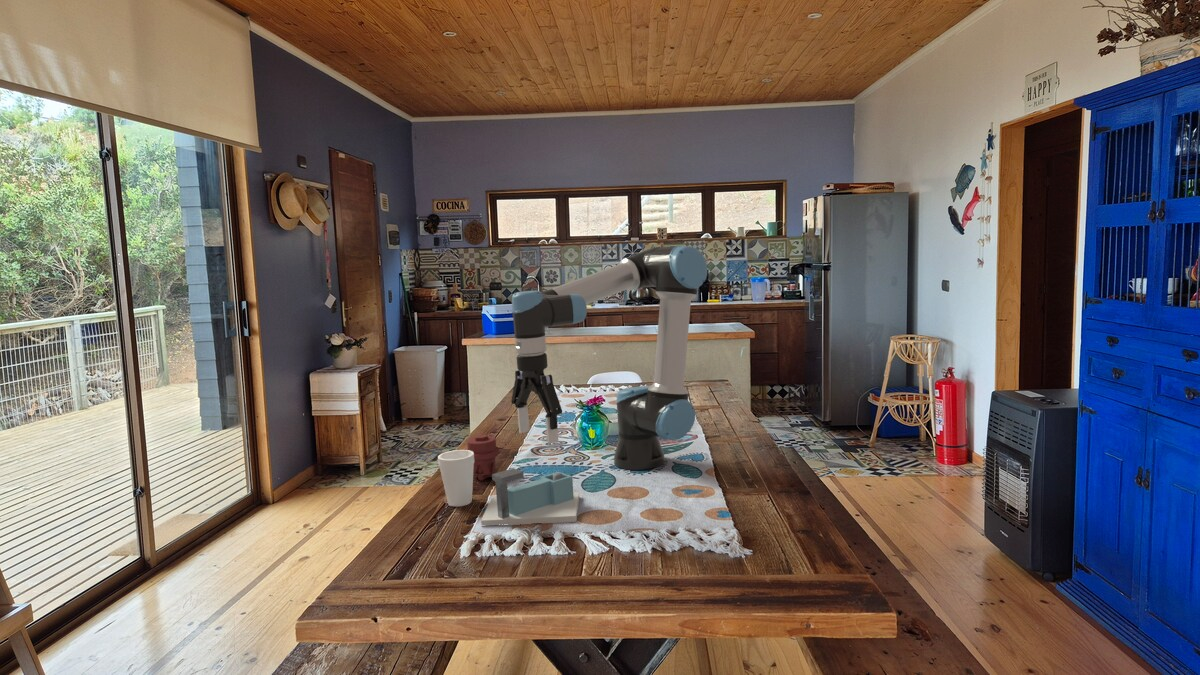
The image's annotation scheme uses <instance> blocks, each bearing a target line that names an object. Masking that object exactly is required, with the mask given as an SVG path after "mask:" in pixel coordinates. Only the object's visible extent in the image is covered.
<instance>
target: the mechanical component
mask: <svg viewBox="0 0 1200 675" xmlns="http://www.w3.org/2000/svg"><path fill="white" fill-rule="evenodd" d="M466 444H467V445H466V447H467V449H466V450H470V451H473V453H474V468H473V476H474V475H475V476H477V478H478V479H477V480H478V481H484V480H485V479H487V478H492V474H495V473H496V471H497V470H496V457H498V456H499V455H500V447H499V446H497V438H496V437H495V436H491V435H487V434H485V433H484V434H477V435H474V436H473V437H471V438H469V439H467V441H466Z"/></svg>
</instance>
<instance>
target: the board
mask: <svg viewBox="0 0 1200 675" xmlns="http://www.w3.org/2000/svg"><path fill="white" fill-rule="evenodd" d="M553 473H554V474H553V481H555V480H558V479H562V473H563V472H561V473H555V472H553ZM573 495H574V499H572V500H569V501H566V502H563V503H560V504H557V505H553V504H549V505H546V506H543V507H540V508H537V509H534V510H531V511H528V512H525V513H522V514H519V515H516V516H514V515H512V514H510V513H509V516H510V517H507V518H504V519H502V518H500V517H498V508H497V496H496V495H493V496H491V498H490V501H489V503H488V505H487V507H486V509H485V511H484V513H483V516H482V517H481V520H480V525H499V524H500V525H501V526H505V525H504V524H508V525H507V526H517V525H520V524H521V525H532V524H531V523H542V524H556V523H557V524H559V523H560V524H561V523H576V522H577V519H578V518H577V517H578V513H579V512H578V510H579V504H580V491H573ZM502 524H503V525H502Z"/></svg>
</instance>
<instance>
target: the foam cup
mask: <svg viewBox="0 0 1200 675" xmlns="http://www.w3.org/2000/svg"><path fill="white" fill-rule="evenodd" d="M437 461H438V462H437V463H438V468H439V471H440V475H441V479H442V482H443V488H444V493H445V497H446V502H447V505H448V506H450V507H464V506H467V505H469V504H471V503H472V501H473V500H472V499H473V485H474V474H473V468H474V453H473V451H470V450H467V449H455V450H454V449H453V450H450V451H445V452H442V453H440V454H439V455H437Z"/></svg>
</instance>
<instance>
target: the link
mask: <svg viewBox="0 0 1200 675" xmlns="http://www.w3.org/2000/svg"><path fill="white" fill-rule="evenodd" d="M554 473H562V479H558V480H555V481H553V474H554ZM573 482H574V481H573V476H572V475H570V474H566V473H563V472H560V471H556V472H551V473H550V474H545V475H543V476H540V477H539V479H536V480H532V481H530V482H527V483H526V482H525V483H523V484H520V485H517V486H516V485H515V486H514V487H511V488H507V490H508V503H509V513H510V514H512V515H514V516H516V515H519V514H522V513H525V512H528V511H531V510H534V509H537V508H540V507H543V506H546V505H549V504H553V505H557V504H560V503H563V502H566V501H569V500H572V499H574V495H573V492H574V483H573Z"/></svg>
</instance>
